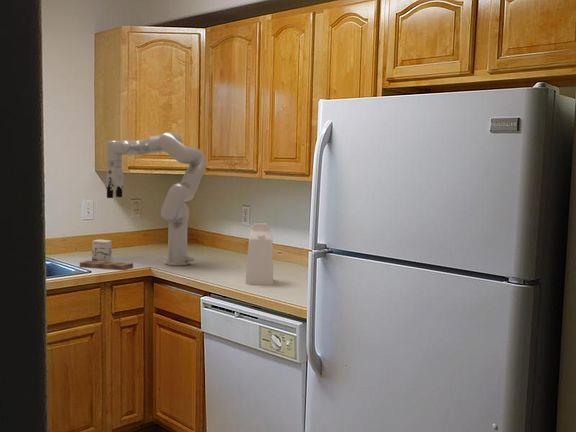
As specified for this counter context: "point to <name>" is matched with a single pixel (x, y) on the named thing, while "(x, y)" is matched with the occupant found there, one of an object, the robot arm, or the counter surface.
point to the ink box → (102, 250)
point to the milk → (260, 255)
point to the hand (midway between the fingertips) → (114, 197)
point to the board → (106, 265)
